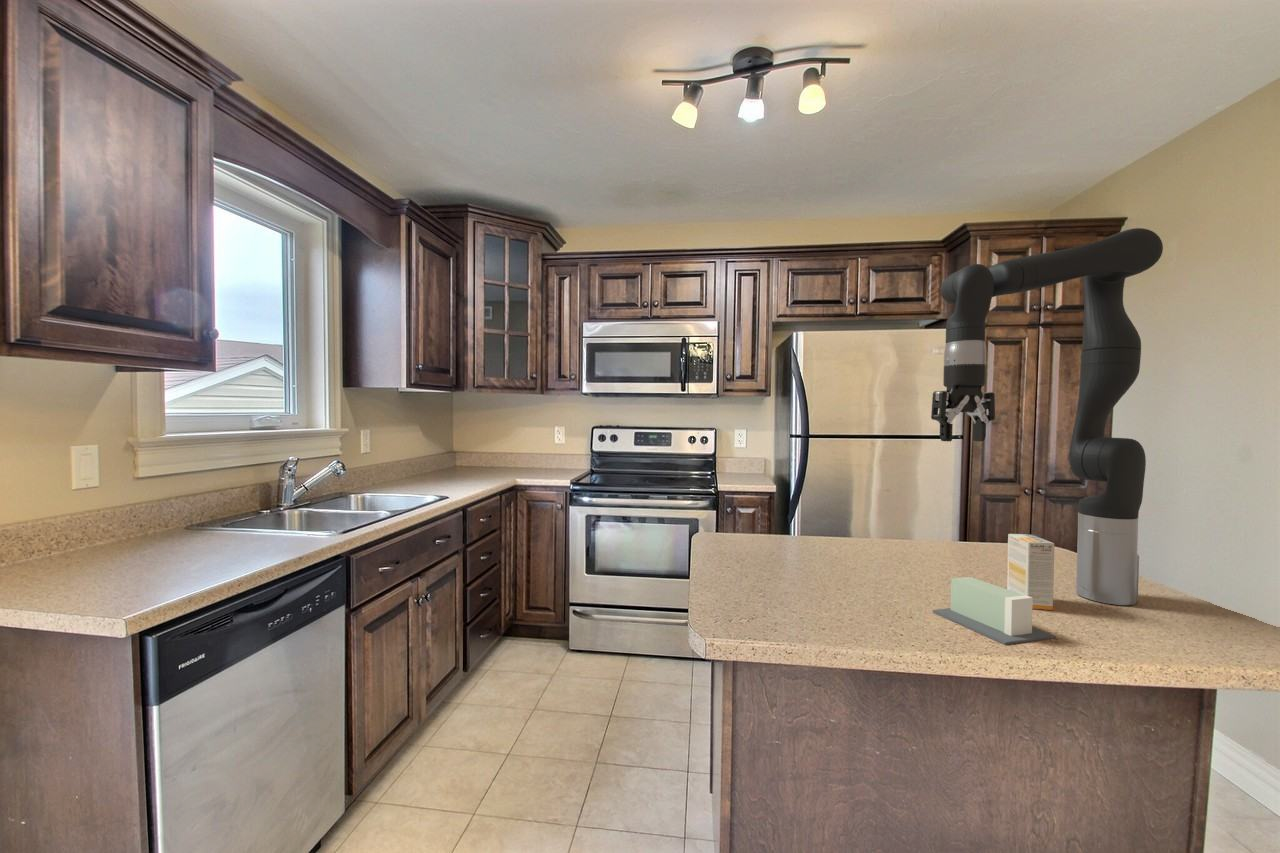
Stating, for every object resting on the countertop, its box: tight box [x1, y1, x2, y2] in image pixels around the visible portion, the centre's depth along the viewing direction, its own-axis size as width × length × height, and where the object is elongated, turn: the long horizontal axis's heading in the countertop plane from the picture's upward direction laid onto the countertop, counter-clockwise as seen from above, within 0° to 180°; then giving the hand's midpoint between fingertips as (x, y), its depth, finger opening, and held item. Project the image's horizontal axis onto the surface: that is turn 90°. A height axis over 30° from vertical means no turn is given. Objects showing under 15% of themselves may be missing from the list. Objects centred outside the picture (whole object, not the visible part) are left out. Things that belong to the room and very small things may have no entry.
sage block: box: [950, 576, 1033, 636], centre depth 93 cm, size 5×6×12 cm
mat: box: [932, 607, 1056, 646], centre depth 93 cm, size 11×14×1 cm
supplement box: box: [1006, 533, 1055, 611], centre depth 104 cm, size 8×5×13 cm, turn 168°
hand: (962, 441), depth 109 cm, fingers open, 8 cm apart
